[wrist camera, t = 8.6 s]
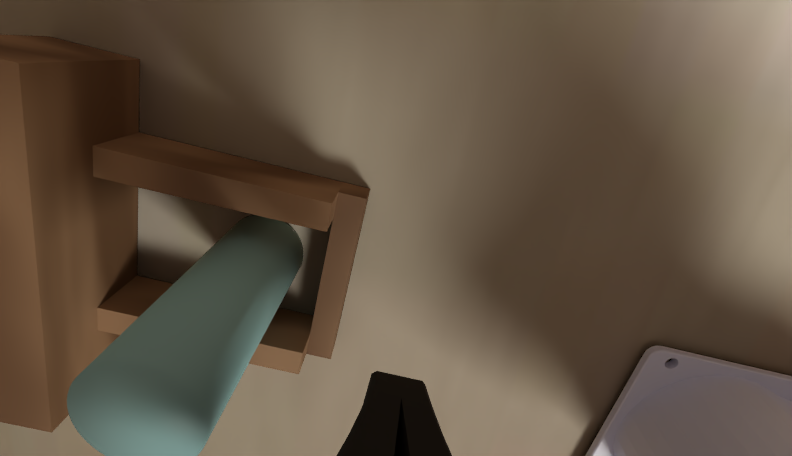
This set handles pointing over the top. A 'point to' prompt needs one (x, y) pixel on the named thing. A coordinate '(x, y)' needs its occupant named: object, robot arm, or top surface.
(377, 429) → the robot arm
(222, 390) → the peg
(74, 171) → the cradle
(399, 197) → the top surface
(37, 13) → the top surface
